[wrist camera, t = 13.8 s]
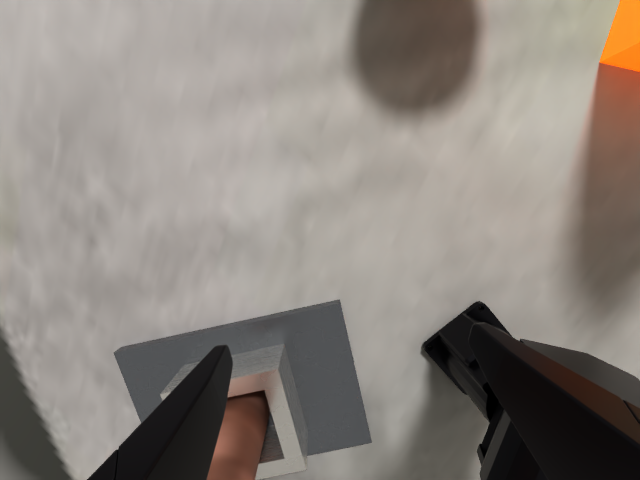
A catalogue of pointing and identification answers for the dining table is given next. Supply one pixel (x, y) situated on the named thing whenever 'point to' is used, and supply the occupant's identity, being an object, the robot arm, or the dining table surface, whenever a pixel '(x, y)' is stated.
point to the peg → (240, 437)
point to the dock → (268, 379)
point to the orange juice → (624, 37)
